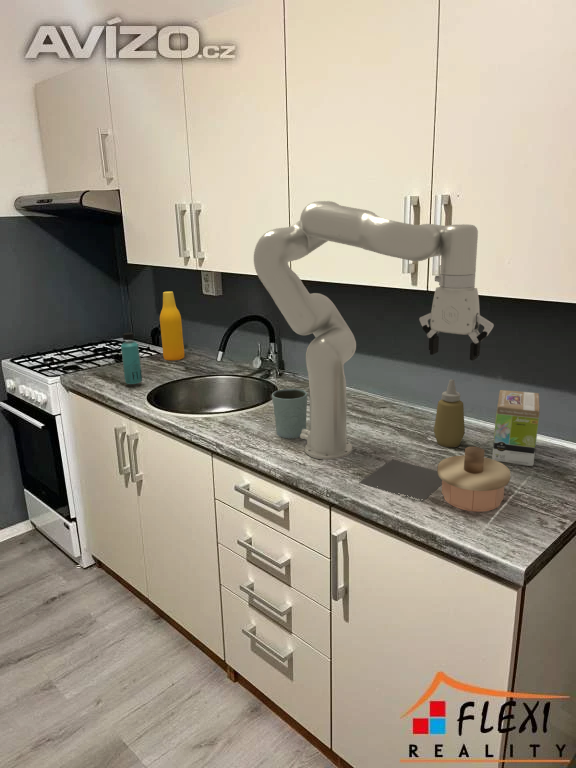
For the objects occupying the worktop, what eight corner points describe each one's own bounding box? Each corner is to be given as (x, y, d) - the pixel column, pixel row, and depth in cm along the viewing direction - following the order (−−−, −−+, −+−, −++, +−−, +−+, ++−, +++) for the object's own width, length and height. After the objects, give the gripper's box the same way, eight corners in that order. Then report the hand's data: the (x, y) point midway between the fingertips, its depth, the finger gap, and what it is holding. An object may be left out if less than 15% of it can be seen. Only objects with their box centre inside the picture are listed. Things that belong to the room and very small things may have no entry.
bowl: (434, 502, 128) (435, 477, 126) (456, 482, 137) (458, 458, 135) (488, 519, 120) (490, 492, 119) (508, 496, 129) (511, 471, 128)
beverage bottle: (132, 389, 216) (126, 335, 210) (121, 386, 220) (115, 333, 214) (146, 384, 221) (141, 332, 215) (135, 381, 225) (129, 330, 219)
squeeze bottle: (427, 444, 158) (429, 380, 153) (443, 436, 164) (446, 374, 158) (454, 452, 153) (457, 386, 147) (469, 443, 158) (473, 379, 153)
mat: (358, 484, 137) (358, 482, 137) (392, 460, 149) (392, 459, 149) (421, 503, 127) (421, 501, 127) (452, 476, 139) (452, 475, 139)
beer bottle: (163, 356, 262) (157, 291, 253) (184, 354, 263) (179, 290, 254) (163, 361, 253) (156, 294, 244) (184, 359, 254) (179, 293, 246)
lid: (425, 478, 126) (426, 454, 124) (454, 454, 137) (455, 432, 135) (495, 497, 117) (497, 471, 115) (519, 470, 128) (522, 446, 126)
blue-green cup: (296, 441, 163) (295, 401, 159) (266, 435, 168) (264, 395, 165) (314, 429, 171) (313, 390, 168) (285, 424, 176) (283, 386, 173)
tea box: (534, 467, 143) (540, 410, 139) (491, 462, 147) (495, 406, 142) (534, 444, 156) (539, 391, 152) (494, 440, 160) (498, 388, 156)
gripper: (414, 281, 133) (411, 354, 138) (489, 286, 123) (484, 365, 128) (428, 278, 139) (426, 348, 144) (502, 282, 128) (496, 357, 133)
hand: (453, 356), depth 136 cm, fingers open, 9 cm apart
